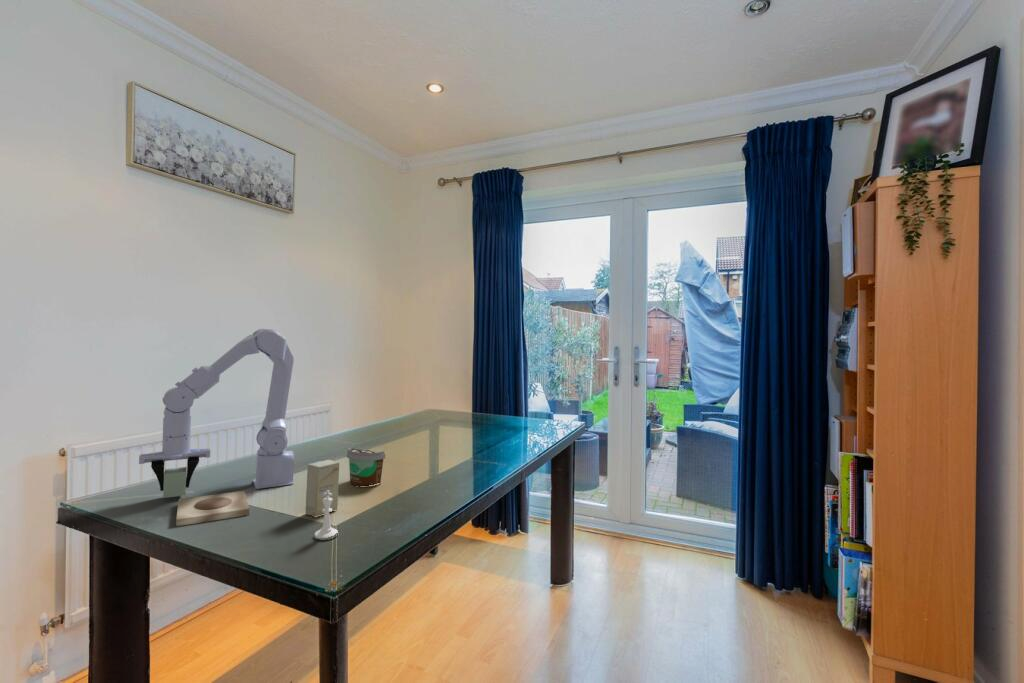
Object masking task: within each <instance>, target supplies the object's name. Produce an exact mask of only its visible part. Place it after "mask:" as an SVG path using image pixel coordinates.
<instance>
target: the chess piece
mask: <svg viewBox="0 0 1024 683" xmlns="http://www.w3.org/2000/svg"><path fill="white" fill-rule="evenodd" d="M324 495H326V498H324V499H323V503H324V507H325V508H324V509H323V510H322V512H323V513H325V515H323V517H324V518H323V521H322V522H323V523H322V527H321V528H320V529H318V530H316V531H315V533H314V535H315V537H317V538H328V537H331V536H334V535H335V534H336V533H338V534H339V530H338V529H336V528H335V527H332V526H331V517H330V514H331V513H329V512H332V508H330V506H331V503H332V500H333V499H332V498H329V496H332V493H330V490H327V493H324ZM332 513H333V512H332ZM314 535H313V536H314Z"/></svg>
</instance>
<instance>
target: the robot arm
mask: <svg viewBox="0 0 1024 683" xmlns="http://www.w3.org/2000/svg"><path fill="white" fill-rule="evenodd" d="M260 352H261V353H263V354H264V355H266V357H268V359H269V360H271V362H272V363H273V366H272V373H271V380H270V386H269V392H268V398H267V404H266V412H265V417H264V419H263V421H262V424H261V428H260V430H258V432H257V434H256V437H255V438H256V439H255V440H256V442H257V444H258V445H259V448H258V450H257V451H256V471H255V473H256V474H255V475H256V476H255V478H254V479H253V480H252V482H253V486H254V488H255V490H259V489H267V488H275V487H281V486H282V487H283V486H291V485H293V484H294V466H295V465H294V464H295V458H294V457H295V455H294V451H293V450H286V448H287V447H288V441H289V440H288V437H287V434H286V431H287V425H286V420H285V418H286V413H287V406H288V402H289V401H288V400H289V392H290V388H291V380H292V375H293V374H292V373H293V368H294V355H293V353H292V352H291V350H290V347H289V345H288V343H287V339H286V337H284V336H283V335H282V334H281V333H280V332H279V331H277V330H275V329H269V328H268V329H267V328H260V329H257V330H255V331H254V332H253V333H252V334H249V335H247V336H246V337H244V338H243V339H241V340H240V341H239V342H237V343H236V344H234V345H233V347H231V348H230V349H229V350H227V352H225V353H223V355H222V356H220V357H219V358H218V359H216V361H214V362H213V363H212V364H211V365H201V366H200V367H199V368H198V367H194V368H193V369H192V370H191V371H192V373H191V374H189V375H188V376H187V377H186V378H184V379H183V380H182V381H177V382H176V383H175V387H172V388H169V389H168V390H167V391H165V393H164V395H163V397H162V402H163V405H164V406H165V407H164V410H163V415H164V417H163V418H162V445H161V446H162V448H161V450H162V451H158V452H157V451H156V452H151V453H150V452H149V453H142V454H139V457H138V459H139V460H138V464H139V465H141V464H142V465H144V464H146V463H147V464H148V463H150V464H151V465H150V467H151V470H152V471H153V472H154V475H155V476H156V479H157V481H158V483H159V488H160V489H159V490H160V492H163V489H164V472H165V462H167V461H177V460H179V461H180V460H187V461H186V462H187V464H186V465H187V466H186V467H187V470H186V489H187V488H190V483H191V480H192V476H193V474H194V471H195V470H196V468H197V466H198V464H199V462H200V458H211V448H210V447H209V448H191V431H192V430H191V427H192V416H191V407H193V405H194V400H197V399H199V398H200V397H202V396H203V395H204V394H206V392H207V393H208V391H209V390H210V389H212V388H213V387H214V386H215V385H217V384H218V383H219V382H220V375H221V374H222V373H224V372H225V371H227V370H228V369H229V368H231V367H232V366H233V365H235V364H236V363H237V362H239V361H241V360H242V359H243V358H245V357H246V356H249V355H255V354H260Z"/></svg>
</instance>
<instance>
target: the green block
mask: <svg viewBox="0 0 1024 683" xmlns="http://www.w3.org/2000/svg"><path fill="white" fill-rule="evenodd" d="M186 477H187V466H182V467H174V468H173V467H171V468H164V489H163V491H162V492H163V494H162V497H163V499H165V498H174V497H181V496H182V497H183V496H186V492H187V491H186V489H187V488H186Z"/></svg>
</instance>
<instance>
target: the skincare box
mask: <svg viewBox="0 0 1024 683" xmlns="http://www.w3.org/2000/svg"><path fill="white" fill-rule="evenodd" d="M306 473H307V474H306V492H305V494H306V496H305V514H306V515H308V516H310V515H312V516H311V517H313V516H318V515H322V514H325V513H323V512H322V510H323V509H324V508H325V507H324V503H323V499H324V498H326V495H324V493H327V490H330V493H332V496H329V498H332V499H333V500H332V503H331V506H330V508H332V511H334V510H337V511H338V504H339V503H338V501H339V500H338V499H339V477H340V462H339V461H336V460H332V459H325V460H319V461H316V462H312V463H307V471H306Z"/></svg>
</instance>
